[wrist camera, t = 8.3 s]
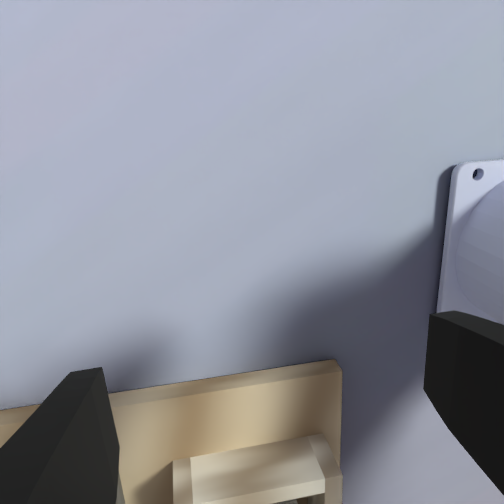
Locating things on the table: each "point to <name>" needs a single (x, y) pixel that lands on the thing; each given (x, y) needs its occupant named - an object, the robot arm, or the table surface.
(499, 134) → the table surface
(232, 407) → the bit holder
